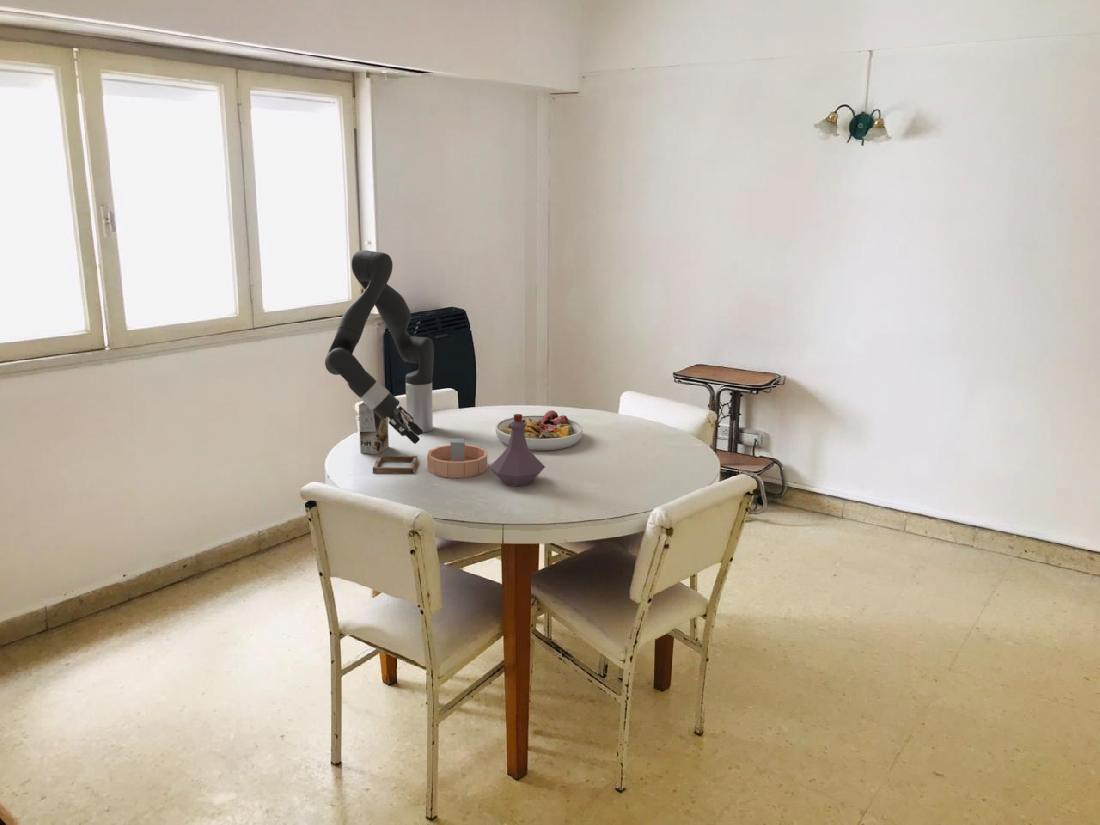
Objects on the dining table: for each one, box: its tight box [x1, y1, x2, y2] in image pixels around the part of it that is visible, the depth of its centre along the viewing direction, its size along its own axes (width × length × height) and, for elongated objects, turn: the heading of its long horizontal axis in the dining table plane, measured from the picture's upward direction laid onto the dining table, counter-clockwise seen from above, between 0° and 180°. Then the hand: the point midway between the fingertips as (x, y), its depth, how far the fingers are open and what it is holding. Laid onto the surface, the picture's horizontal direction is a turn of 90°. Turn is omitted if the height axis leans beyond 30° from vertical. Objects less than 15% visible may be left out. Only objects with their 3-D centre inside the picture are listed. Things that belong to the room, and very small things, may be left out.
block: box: [449, 438, 466, 462], centre depth 244 cm, size 4×4×8 cm
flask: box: [489, 413, 546, 487], centre depth 233 cm, size 16×16×20 cm
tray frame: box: [372, 455, 419, 474], centre depth 245 cm, size 12×12×2 cm
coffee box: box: [358, 401, 390, 455], centre depth 259 cm, size 9×6×16 cm
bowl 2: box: [495, 410, 584, 452], centre depth 275 cm, size 30×30×8 cm
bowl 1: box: [426, 444, 489, 479], centre depth 244 cm, size 18×18×5 cm
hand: (419, 437), depth 242 cm, fingers open, 8 cm apart
